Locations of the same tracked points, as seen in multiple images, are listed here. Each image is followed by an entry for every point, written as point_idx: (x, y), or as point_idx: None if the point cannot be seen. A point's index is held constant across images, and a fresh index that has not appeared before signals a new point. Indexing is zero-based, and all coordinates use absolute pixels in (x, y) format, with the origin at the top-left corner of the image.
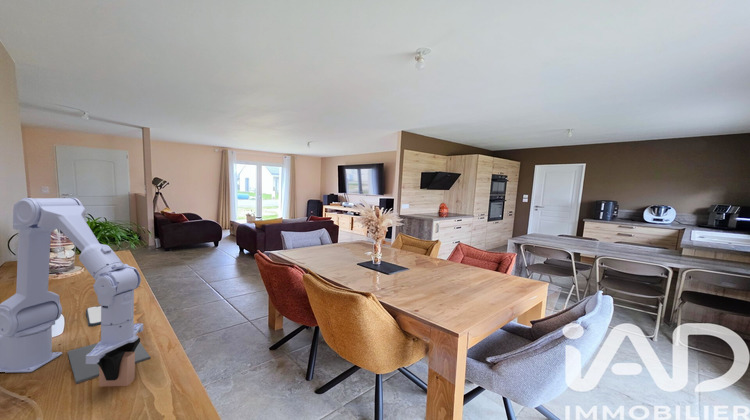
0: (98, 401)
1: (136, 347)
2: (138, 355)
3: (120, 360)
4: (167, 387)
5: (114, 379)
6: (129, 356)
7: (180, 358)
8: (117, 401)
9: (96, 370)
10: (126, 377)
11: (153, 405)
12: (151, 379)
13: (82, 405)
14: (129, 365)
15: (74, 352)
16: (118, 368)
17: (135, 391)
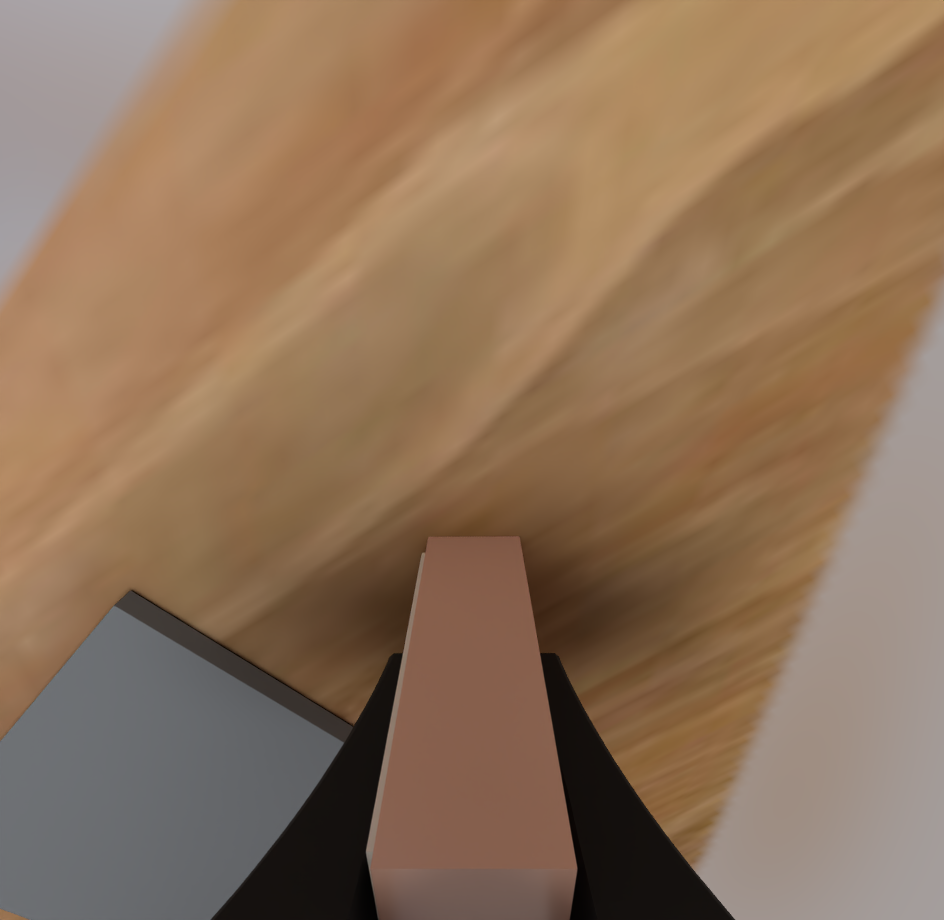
0: (690, 607)
1: (40, 763)
2: (132, 694)
3: (609, 883)
4: (584, 92)
5: (561, 665)
6: (524, 857)
7: (14, 295)
8: (725, 483)
9: None
10: (527, 595)
11: (912, 59)
12: (430, 388)
13: (712, 666)
14: (506, 690)
15: None
16: (580, 756)
17: (609, 423)
